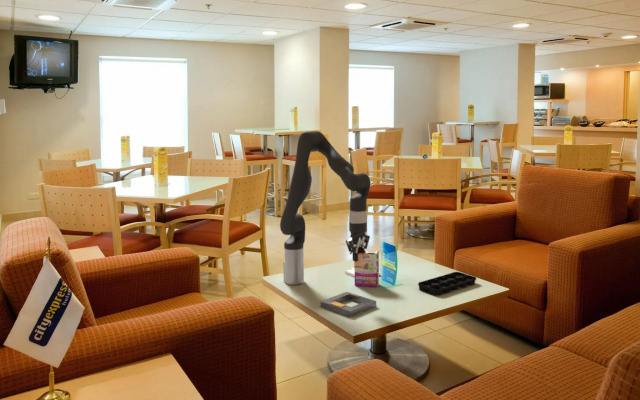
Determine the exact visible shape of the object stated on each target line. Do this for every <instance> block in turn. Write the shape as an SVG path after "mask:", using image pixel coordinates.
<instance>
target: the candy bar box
mask: <svg viewBox="0 0 640 400" xmlns="http://www.w3.org/2000/svg"><path fill="white" fill-rule="evenodd" d="M365 252H366V255H367V256H366V257H365V256H364V254H363V266H364V268H362V269H360V268H359V267H360V266H359V267H358V268H355V278H354V286H356V287H369V288H370V287H371V288H372V287H373V288H377V287H379V285H380V276H379V272H380V250H365Z"/></svg>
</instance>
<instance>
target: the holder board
mask: <svg viewBox="0 0 640 400" xmlns="http://www.w3.org/2000/svg"><path fill="white" fill-rule="evenodd" d="M347 301H352V302H355V303H357V304H355V305H353V306H349V305H347V304H344V302H347ZM319 303H320V304H319V305H320V306H319V307H320V308H323V309H325V310H328V311H330V312H334V313H336V314H340V315H342V316H344V317H348V318H353V317H354V316H357V315H359V314H361V313H364V312H366V311H367V312H368V311H369V310H372V309H374V308H376V307H377V300H374V299H372V298H368V297H365V296H361V295H359V294H355V293H351V292H349V291H345V292H342V293H339V294H337V295H334V296H333V295H332V296H331V297H327V298H326V299H323V300H320V301H319Z"/></svg>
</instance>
